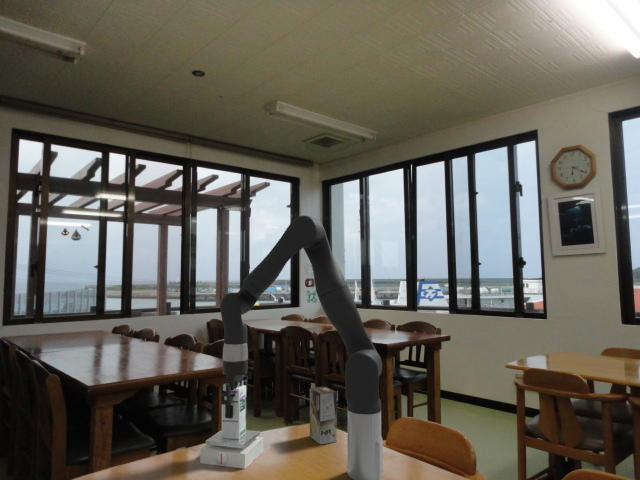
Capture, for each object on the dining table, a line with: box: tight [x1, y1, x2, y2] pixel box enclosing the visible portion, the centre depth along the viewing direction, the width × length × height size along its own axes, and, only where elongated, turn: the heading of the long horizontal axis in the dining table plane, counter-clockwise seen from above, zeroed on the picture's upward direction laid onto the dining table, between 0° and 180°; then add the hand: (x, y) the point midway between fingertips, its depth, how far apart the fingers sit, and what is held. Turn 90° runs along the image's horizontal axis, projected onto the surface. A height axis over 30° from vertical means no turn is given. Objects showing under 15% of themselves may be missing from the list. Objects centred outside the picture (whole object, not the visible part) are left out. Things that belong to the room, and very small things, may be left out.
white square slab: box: [199, 436, 265, 470], centre depth 134 cm, size 14×15×4 cm
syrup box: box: [221, 385, 247, 439], centre depth 136 cm, size 6×6×14 cm
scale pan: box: [205, 429, 261, 448], centre depth 135 cm, size 12×12×1 cm
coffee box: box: [309, 386, 338, 445], centre depth 151 cm, size 9×6×16 cm
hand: (234, 414), depth 135 cm, fingers open, 6 cm apart
